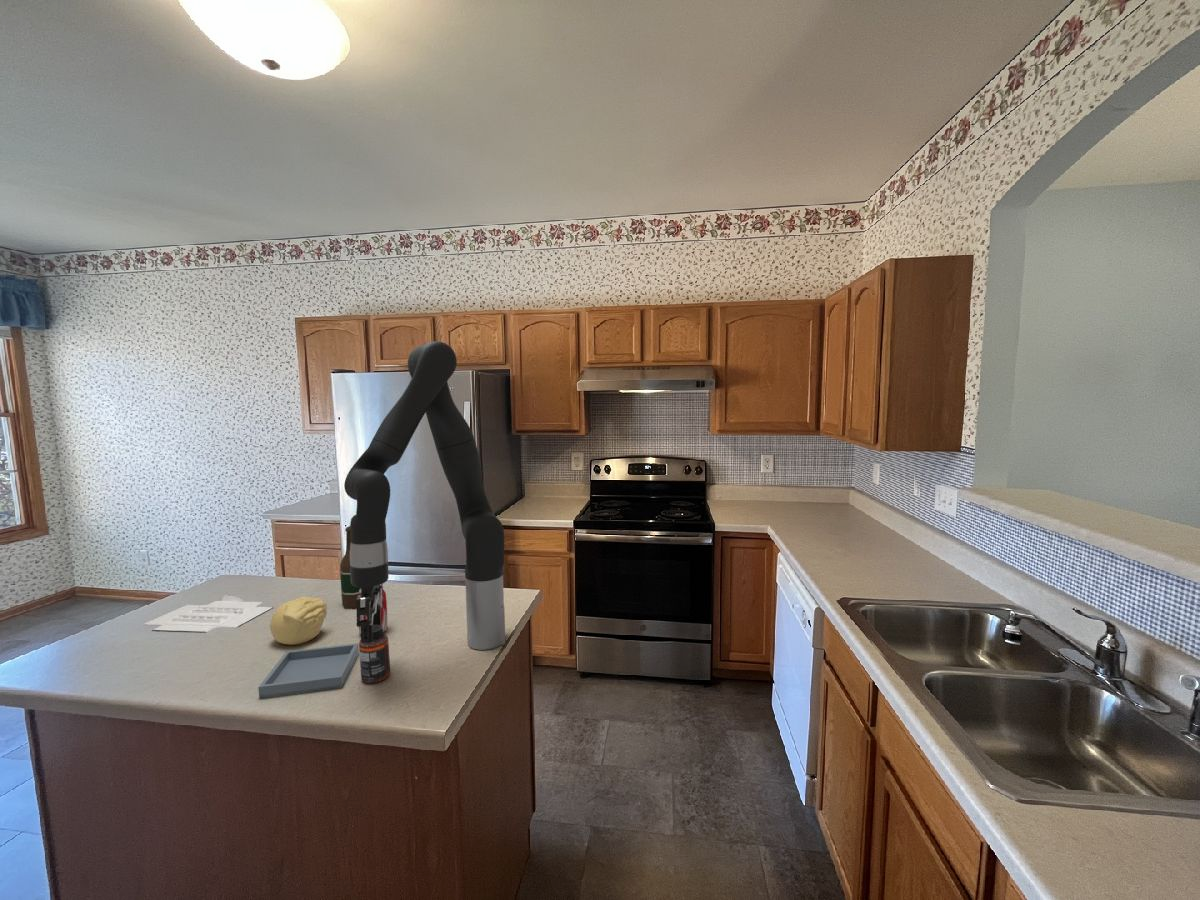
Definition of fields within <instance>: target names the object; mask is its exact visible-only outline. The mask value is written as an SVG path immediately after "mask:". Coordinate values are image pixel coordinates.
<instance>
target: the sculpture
mask: <svg viewBox="0 0 1200 900" xmlns="http://www.w3.org/2000/svg"><path fill="white" fill-rule="evenodd" d="M327 605H328V604H327V603H326V602H325V601H324V600H322V599H321V598H319V597H312V596H311V597H309V596H305V595H304V596H301V597H298V598H295V599H291V600H289V601H287V602H285V603H283V604H281V605H280V606H279V607H278V608H277V609H275V611H274V613H273V614H272V616H271V619H270V624H269V626H270V627H269V628H270V633H271V635H272V637H273V639H274V640H275V641H276V642H277V643H280V644H283V645H289V646H290V645H292V646H293V645H296V646H297V645H301V644H304V643H307V642H310V641H311V640H313V639H314V638H315V637H317V636H318V635H319V634H320V632H321V630H322V626H323V623H324V620H325V619H326V617H327V614H328V612H327Z"/></svg>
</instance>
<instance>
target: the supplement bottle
mask: <svg viewBox="0 0 1200 900" xmlns="http://www.w3.org/2000/svg"><path fill="white" fill-rule="evenodd" d="M358 646H359V654H358V655H359V666H360V678H361V679H360V680H361V681H362V683H364V684H376V683H380V682H383V681H384V680H386V679H387V678H388V677H390V674H391V660H390V647H389V637H388V635H387V634H386V633H384V632H383V627H382V626H381V625H373V640H372V642H369V643H362V642H361V639H359V642H358Z"/></svg>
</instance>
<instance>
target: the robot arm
mask: <svg viewBox="0 0 1200 900" xmlns="http://www.w3.org/2000/svg"><path fill="white" fill-rule="evenodd" d="M454 351H455V350H454V349H453V348H452V347H451V346H450V345H449V344H447V343H445V342H442V341H438V340H437V341H435V340H434V341H430V342H426V343H424V344H422V345H420V346H418V347H416V348H415V349H413V350H412V351H411V352H410V354H409V355H408V359H407V368H408V373H409V375H410V378H411V379H410V381H409V383H408V385H407V386H406V389H405V390H404V392H403V393H402V395H401V396H400V398H399V399H398V400H397V402H395V404H394V405H393V407H392V408H391V409H390V410H389V412H388V413H387V414H386V416H385V417H384V418H383V420H382V422H381V424H379V427H378V428H377V430H376V432H375V434H374V436H373V438H372V440H371V442H370V443H369V445H368V447H367V448H366V450H365V451H363V453H362V454H361V455H360V456H359V458H358V459H357V460H356V461H355V462H354V464H353V465H352V466H351V468H350V469H349V471H348V473H347V474H346V477H345V480H344V483H343V486H344V487H343V488H344V492H345V494H346V495H347V496H348V497H349V498H351V499H353V500H355V501H356V512H355V513H356V514H354V515H353V516H352V517H351V518H350V523H349V526H350V537H351V546H350V577H351V584H352V585H353V586H355V587H360V588H361V593H359V596H358V598H357V600H356V608H357V609H356V627H357V628H359V627H361V634H360V640H361V642H362V643H369V642H372V640H373V625H380V624H381V607H382V602H383V600H384V598H383V590H384V584H385V583H386V582H387V581H388V580H389V578H390V575H389V549H388V543H387V523H386V519H387V515H388V511H389V505H390V500H391V485H390V482H389V479H388V478H387V476H386V475H385V474H386V472H387V471H388V469H389V468H390V467H392V466H394V465H396V464H398V463H399V462H400V461H401V459H402V457H403V456H404V453H405V451H406V450H407V448H408V445H409V444H410V442H411V439H412V438H413V435H414V434H415V432H416V431H417V428H418V426H419V425H420V424H421V421H422V419H423V418H424V415H426V418H427V422H428V425H429V428H430V429H429V430H430V432H431V435H432V439H433V442H434V446H435V450H436V452H437V456H438V459H439V461H440V465H441V467H442V469H443V472H444V476H445V477H446V481H447V482H448V484H449V486H450V487H449V488H451V491H452V494H453V495H454V499H455V501H456V506H457V510H458V514H459V521H460V526H461V533H462V535H463V537H464V539H465V557H466V559H465V561H466V562H465V566H464V579H465V582H464V584H465V603H466V604H465V605H466V606H465V607H466V610H465V611H466V631H467V632H466V635H467V638H466V639H467V645H468V647H469V648H471V649H473V650H479V651H483V650H484V651H485V650H492V649H495V648H497V647H499V646H502V645H506V619H505V617H506V616H505V601H504V596H505V595H504V565H505V529H504V525H503V523H502V522H501V519H499V518H498V517H497V516H496V515H495V514H494V512H493V509H492V507H491V505H490V502H489V501H488V497H487V494H486V492H485V489H484V483H483V474H482V473H483V472H482V465H481V459H480V453H479V450H478V445H477V443H476V440H475V439H476V438H475V436H474V434H473V432H472V429H471V427H470V425H469V424H468V422H467V421H466V419H465V418H464V416H463V415H462V413H461V411H460V410H459V408H458V407H457V406H456V404H455V402H454V400H453V397H452V394H451V391H450V386H449V383H448V381H449V379H451V377H452V376H453V374H454V373H455V371H456V369H457V365H458V364H457V361H458V359H457V355H456V352H454ZM379 608H380V609H379ZM364 615H367V620H363V617H364Z"/></svg>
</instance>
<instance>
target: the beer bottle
mask: <svg viewBox="0 0 1200 900" xmlns="http://www.w3.org/2000/svg"><path fill="white" fill-rule="evenodd" d="M345 532H346V534H345V535H346V538H345V539H346V540H345V545H346V549H345V554H344V556H343V557H342V559H341V561H340V564H339V574H340V575H339V576H340V592H341V593H340V594H341V603H342V606H343V608H344V609H345V610H357V608H356V600H357V596H358V594H359V593H360V592H359V590H360V589H361V588H360V587H355V586H353V585H352V584H351V577H350V546H351V537H350V525H349V526H347V527H345Z"/></svg>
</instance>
